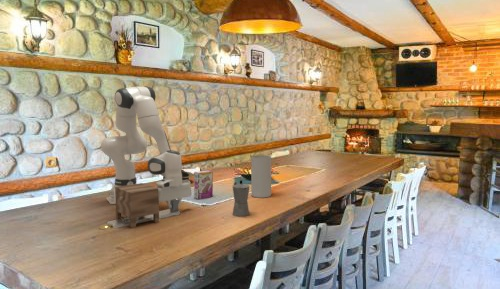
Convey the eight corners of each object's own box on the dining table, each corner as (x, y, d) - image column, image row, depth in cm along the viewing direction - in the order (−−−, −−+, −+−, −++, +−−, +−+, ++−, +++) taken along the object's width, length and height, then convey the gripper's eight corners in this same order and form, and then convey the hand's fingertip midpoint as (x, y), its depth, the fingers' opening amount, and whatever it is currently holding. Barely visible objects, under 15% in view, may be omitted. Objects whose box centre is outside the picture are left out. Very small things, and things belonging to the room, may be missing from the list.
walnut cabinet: (114, 219, 188) (113, 187, 187) (142, 214, 198) (141, 183, 196) (129, 228, 175) (128, 193, 173) (159, 222, 185) (158, 188, 183)
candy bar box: (198, 199, 229) (198, 173, 227) (193, 198, 232) (193, 172, 231) (213, 196, 237) (213, 170, 235) (208, 195, 240) (208, 169, 239)
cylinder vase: (260, 199, 231) (260, 158, 228) (247, 195, 240) (247, 156, 238) (275, 196, 239) (275, 156, 237) (261, 192, 248) (261, 154, 246)
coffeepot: (254, 216, 194) (254, 181, 193) (237, 218, 190) (237, 183, 189) (242, 209, 208) (242, 176, 207) (226, 211, 204) (226, 178, 203)
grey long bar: (172, 210, 204) (172, 198, 204) (180, 214, 199) (180, 200, 198) (107, 224, 181) (106, 210, 180) (114, 228, 175) (113, 213, 174)
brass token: (98, 227, 176) (97, 225, 176) (108, 225, 180) (108, 223, 180) (102, 230, 173) (101, 228, 173) (112, 228, 176) (112, 225, 176)
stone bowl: (160, 179, 292) (161, 167, 291) (193, 181, 295) (194, 169, 294) (156, 185, 267) (157, 172, 267) (192, 187, 270) (193, 174, 270)
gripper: (187, 178, 208) (187, 202, 209) (153, 183, 194) (153, 209, 196) (193, 179, 203) (193, 205, 205) (159, 185, 190) (159, 212, 191)
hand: (174, 207), depth 200 cm, fingers closed on grey long bar, 3 cm apart
